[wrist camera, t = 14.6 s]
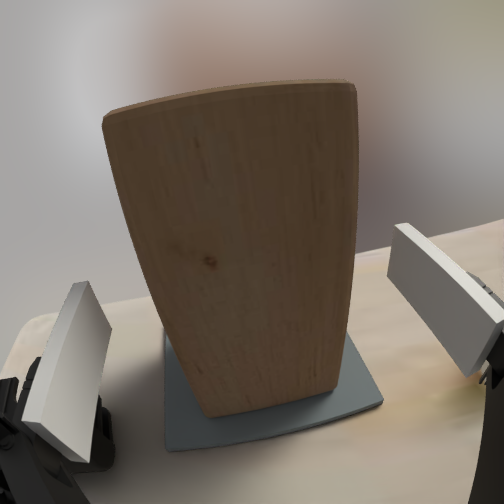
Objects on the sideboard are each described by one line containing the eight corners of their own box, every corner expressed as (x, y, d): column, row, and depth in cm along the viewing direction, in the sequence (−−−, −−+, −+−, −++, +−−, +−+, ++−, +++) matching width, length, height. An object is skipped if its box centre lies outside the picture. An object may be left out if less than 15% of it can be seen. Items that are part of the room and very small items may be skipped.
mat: (322, 293, 31) (322, 289, 31) (382, 403, 19) (384, 399, 19) (168, 323, 30) (166, 319, 29) (168, 451, 18) (165, 448, 17)
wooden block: (205, 421, 19) (95, 115, 9) (196, 328, 28) (139, 103, 17) (338, 390, 20) (360, 79, 10) (299, 307, 29) (287, 81, 18)
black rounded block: (24, 487, 13) (-32, 448, 9) (27, 422, 19) (-17, 376, 15) (125, 483, 15) (73, 447, 12) (116, 409, 21) (76, 358, 17)
